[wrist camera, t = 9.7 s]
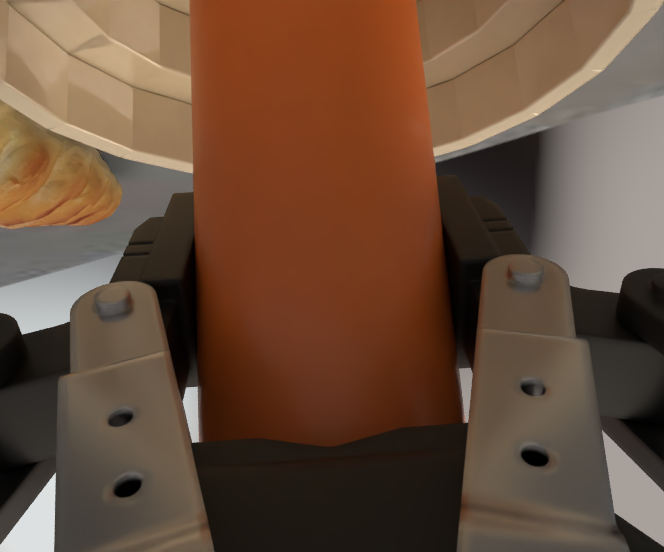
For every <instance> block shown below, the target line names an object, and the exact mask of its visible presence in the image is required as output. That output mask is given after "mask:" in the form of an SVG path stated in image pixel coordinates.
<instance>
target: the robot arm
mask: <svg viewBox="0 0 664 552" xmlns="http://www.w3.org/2000/svg"><path fill="white" fill-rule="evenodd" d="M436 177H437V186H438V194H439V203H440V211H441V220H442V228H443V237H444V246H445V254H446V263H447V271H448V280H449V288H450V297H451V305H452V314H453V322H454V331H455V339H456V348H457V357H458V365H459V368H471V370H472V373H473V378H472V389H471V400H470V410H469V421H468V423H456V424H443V425H429V426H415V427H402V428H398V429H394V430H391V431H387V432H384V433H380V434H377V435H373V436H370V437H366V438H363V439H359V440H356V441H352V442H348V443H345V444H341V445H338V446H331V447H325V446H317V445H309V444H301V443H293V442H286V441H278V440H270V439H262V438H252V439H238V440H225V441H211V442H197V443H192V440H191V436H190V432H189V428H188V423H187V419H186V415H185V410H184V406H183V402H182V401H183V398H184V394H185V389H186V387H198V373H197V326H196V280H195V235H194V192H189V193H174V194H173V195H172V198H171V200H170V203H169V205H168V208H167V210H166V213H165V215H164V217H153V218H149V219H148V220H147V221H145V222H144V223H143V224H142V225H140V226H139V227H138V228H137V229H135V230H134V233H133V235H132V237H131V239H130V241H129V246H127V247H126V249H125V251H124V254H123V255H124V257H122V258H121V260H120V262H119V264H118V266H117V268H116V270H115V273H114V275H113V277H112V279H111V281H110V283H109V284H106V285H102V286H100V287H97V288H95V289H93V290H90V291H89V292H87V293H85V294H84V295H82V296H81V297H80V298H79V299H78V300H77V301H76V302H75V303H74V304H73V306H72V308H71V311H70V322H67V323H65V324H62V325H58V326H55V327H51V328H47V329H43V330H39V331H35V332H31V333H28V334H23V335H22V334H21V331H20V329H19V326H18V323H17V321H16V320H15V319H14V318H13V317H11V316H9V315H7V314H3V313H0V544H1V543H2V542H3V540H4V539H5V538H6V536H7V535H8V534H9V533H10V531H11V530H12V529H13V527H14V526H15V525H16V523H17V522H18V521H19V519H20V518H21V517H22V515H23V514H24V513H25V512H26V510H27V509H28V508H29V506H30V505H31V504H32V502H33V501H34V500H35V499H36V497H37V496H38V494H39V493H40V492H41V491H42V489H43V488H44V487H45V485H46V484H47V483H48V482H49V480H50V479H51V478H52V476H53V475H54V474H55V472H56V495H55V545H54V552H664V547H663V546H662V545H660V544H659V543H657V542H656V541H654V540H653V539H651V538H650V537H649V536H647V535H646V534H644V533H643V532H641V531H640V530H638V529H637V528H636V527H634V526H632V525H631V524H629V523H628V522H627V521H625V520H624V519H623V518H621V517H620V516H618V515H617V514H615V513H614V508H613V501H612V494H611V488H610V481H609V475H608V468H607V461H606V455H605V448H604V441H603V435H602V430H603V431H604V432H605V433H606V434H607V435H608V436H609V437H610V438H611V439H612V440H613V441H614V442H615V443H616V444H617V445H618V446H619V447H620V448H621V449H622V450H623V451H624V452H625V453H626V454H627V455H628V456H629V457H630V458H631V459H632V460H633V461H634V462H635V463H636V464H637V465H638V466H639V467H640V468H641V469H642V470H643V471H644V472H645V473H646V474H647V475H648V476H649V477H650V478H651V479H652V480H653V481H654V482H655V483H656V484H657V485H658V486H659V487H660V488H661V489H662V490H663V491H664V269H661V268H648V269H641V270H636V271H633V272H631V273H629V274H628V275H627V276H625V277H624V279H623V281H622V286H621V290H620V293H613V292H604V291H595V290H587V289H581V288H577V287H572V286H570V285H569V278H568V275H567V274H566V272H565V271H564V269H563V268H561V267H560V266H559V265H557V264H556V263H554V262H552V261H549V260H547V259H544V258H541V257H537V256H532V255H531V254H530V253H529V251H528V250H527V248H526V247H525V245H524V243H523V242H522V240H521V239H520V238H519V236H518V234H517V233H516V231H513V227H512V225H511V224H510V222H509V221H507V218H506V216H505V214H504V213H503V211H502V210H501V208H500V207H499V206H498V205H497V204H495V203H493V202H492V201H490V200H488V199H487V198H485V197H483V196H473V197H469V196H468V194H467V193H466V191H465V189H464V188H463V186H462V184H461V182H460V180H459V179H458V177H457V176H456V175H451V176H436Z"/></svg>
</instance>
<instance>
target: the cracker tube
mask: <svg viewBox="0 0 664 552" xmlns="http://www.w3.org/2000/svg"><path fill="white" fill-rule="evenodd" d="M189 7H190V53H191V98H192V144H193V190H194V235H195V280H196V326H197V373H198V418H199V442H211V441H225V440H238V439H252V438H262V439H270V440H278V441H286V442H293V443H301V444H309V445H317V446H325V447H331V446H338V445H341V444H345V443H348V442H352V441H356V440H359V439H363V438H366V437H370V436H373V435H377V434H380V433H384V432H387V431H391V430H394V429H398V428H402V427H415V426H429V425H443V424H456V423H465V416H464V408H463V399H462V391H461V383H460V374H459V365H458V357H457V348H456V339H455V331H454V322H453V314H452V305H451V297H450V288H449V280H448V271H447V263H446V254H445V246H444V237H443V228H442V220H441V211H440V203H439V194H438V186H437V177H436V169H435V160H434V152H433V143H432V134H431V126H430V117H429V109H428V100H427V92H426V83H425V75H424V66H423V58H422V49H421V41H420V32H419V23H418V15H417V6H416V0H189Z"/></svg>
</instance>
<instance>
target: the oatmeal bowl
mask: <svg viewBox="0 0 664 552" xmlns="http://www.w3.org/2000/svg"><path fill="white" fill-rule="evenodd" d="M663 2H664V0H416V6H417V15H418V23H419V32H420V41H421V49H422V58H423V66H424V75H425V83H426V92H427V100H428V109H429V117H430V126H431V134H432V143H433V152H434V157H435V156H438V155H442V154H445V153H448V152H452V151H455V150H459V149H462V148H466V147H469V146H471V145H475V144H477V143H479V142H481V141H483V140H485V139H488V138H490V137H492V136H494V135H496V134H499V133H501V132H503V131H505V130H507V129H510V128H512V127H514V126H516V125H518V124H520V123H523V122H525V121H527V120H529V119H531V118H534V117H536V116H538V115H539V114H541V113H543V112H544V111H546V110H547V109H549V108H550V107H552V106H553V105H555V104H556V103H557V102H559V101H560V100H562V99H563V98H565V97H566V96H568V95H569V94H570V93H572V92H573V91H575V90H576V89H578V88H579V87H581V86H582V85H584V84H585V83H586V82H588V81H589V80H591V79H592V78H594V77H595V76H597V75H598V74H600V73H601V72H602V71H603V69H606V68H607V67H608V66H609V64H610V63H611V62H612V61H613V60H614V59H615V58H616V57H617V56H618V55H619V53H620V52H621V51H622V50H623V49H624V48H625V47H626V46H627V45H628V44H629V42H630V41H631V40H632V39H633V38H634V37H635V36H636V35H637V34H638V33H639V31H640V30H641V29H642V28H643V27H644V26H645V25H646V24H647V23H648V22H649V20H650V19H651V18H652V17H653V16H654V15H655V14H656V13H657V12H658V10H659V7H661V6H662V4H663ZM0 100H1V101H3V102H4V103H6V104H8V105H9V106H11V107H12V108H14V109H16V110H17V111H19V112H20V113H22V114H23V115H25V116H27V117H28V118H30V119H31V120H33V121H35V122H36V123H38V124H39V125H41V126H43V127H44V128H46V129H49V130H50V131H52V132H55V133H58V134H60V135H63V136H65V137H68V138H71V139H73V140H76V141H78V142H81V143H84V144H86V145H89V146H91V147H94V148H96V149H99V150H102V151H104V152H107V153H109V154H112V155H115V156H117V157H122V158H124V159H129V160H133V161H138V162H142V163H147V164H151V165H156V166H161V167H165V168H170V169H174V170H179V171H183V172H188V173H193V144H192V98H191V53H190V7H189V0H0Z"/></svg>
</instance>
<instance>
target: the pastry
mask: <svg viewBox="0 0 664 552" xmlns="http://www.w3.org/2000/svg"><path fill="white" fill-rule="evenodd" d="M122 193H123V191H122V187H121V185H120V183H119V182H118V180H117V179H116V177H115V176H114V174H113V173H112V172H111V170H110V169H109V167H108V165H107V163H106V161H104V160H103V159H102V158H101V156H100V152H99V151H98V150H96V149H95V148H94V147H91V146H89V145H86V144H84V143H81V142H78V141H76V140H73V139H71V138H68V137H65V136H63V135H60V134H58V133H55V132H52V131H50V130H49V129H46V128H44V127H43V126H41V125H39V124H38V123H36V122H35V121H33V120H31V119H30V118H28V117H27V116H25V115H23V114H22V113H20V112H19V111H17V110H16V109H14V108H12V107H11V106H9V105H8V104H6V103H4V102H3V101H1V100H0V227H3V228H8V229H17V228H21V227H36V226H47V225H50V226H51V225H72V226H80V225H90V224H93V223H96V222H98V221H101V220H103V219H105V218H107V217H109V216H111V215H112V214H113V212H114V211H115V210H116V208H117V207H118V205H119V204H120V201H121V197H122Z"/></svg>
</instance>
